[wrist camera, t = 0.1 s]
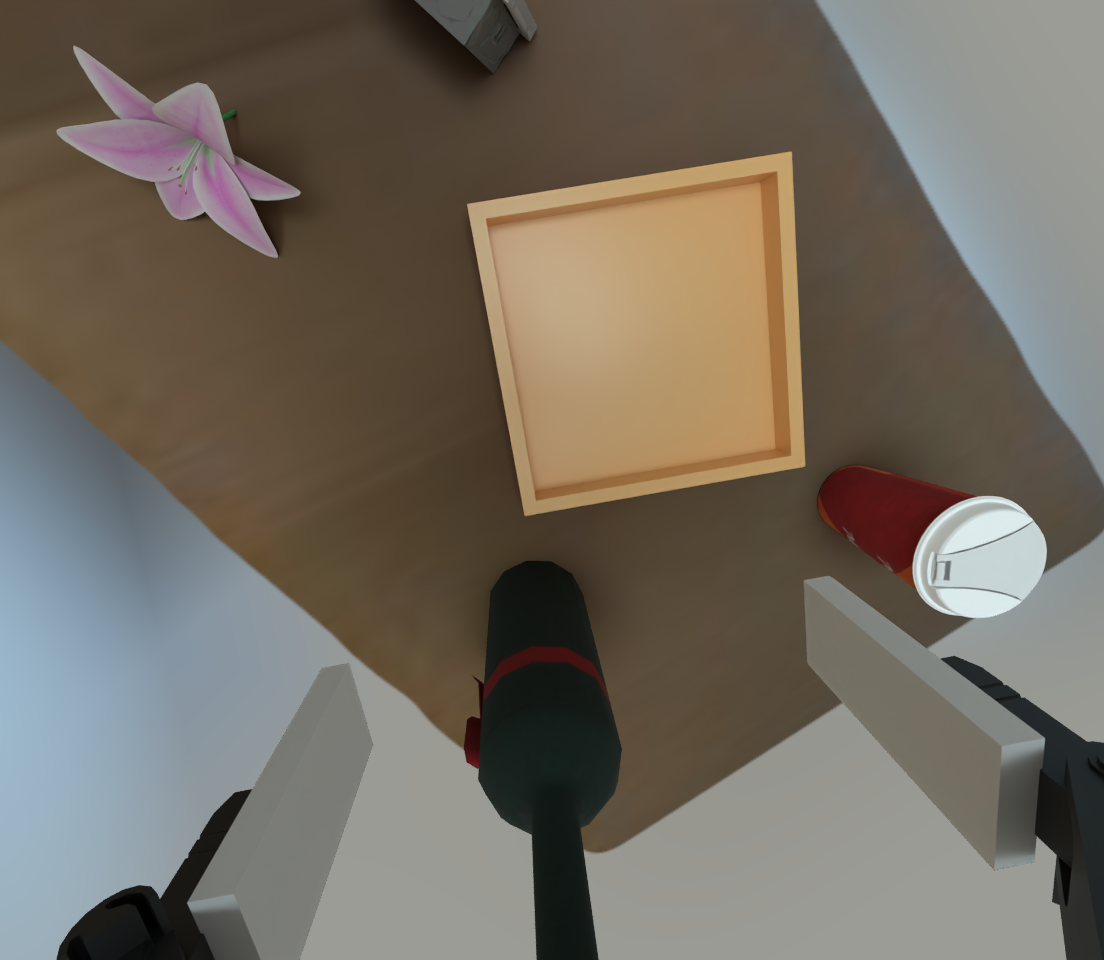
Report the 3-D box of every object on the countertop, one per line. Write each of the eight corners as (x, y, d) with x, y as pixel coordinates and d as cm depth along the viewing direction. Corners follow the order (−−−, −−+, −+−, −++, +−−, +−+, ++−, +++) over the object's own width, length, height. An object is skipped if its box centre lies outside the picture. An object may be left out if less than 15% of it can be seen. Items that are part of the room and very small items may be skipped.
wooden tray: (471, 215, 38) (467, 204, 35) (767, 167, 39) (791, 151, 35) (523, 502, 44) (524, 516, 40) (782, 456, 44) (805, 466, 41)
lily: (104, 136, 36) (4, 182, 30) (165, -41, 31) (59, -35, 24) (280, 260, 42) (231, 322, 36) (359, 131, 37) (319, 176, 30)
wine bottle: (448, 619, 46) (335, 1110, 17) (540, 541, 44) (592, 922, 15) (512, 679, 47) (510, 1216, 18) (602, 605, 46) (752, 1056, 17)
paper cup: (803, 546, 46) (923, 633, 33) (805, 457, 44) (934, 510, 31) (893, 536, 47) (1049, 617, 33) (899, 447, 45) (1068, 495, 31)
